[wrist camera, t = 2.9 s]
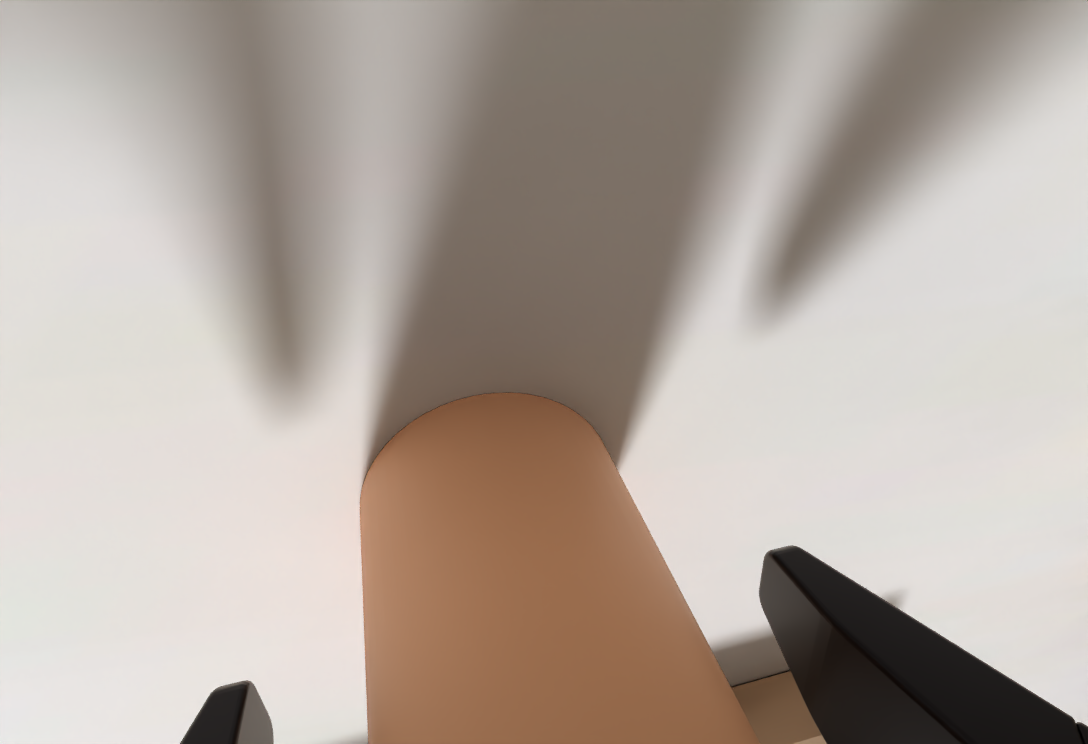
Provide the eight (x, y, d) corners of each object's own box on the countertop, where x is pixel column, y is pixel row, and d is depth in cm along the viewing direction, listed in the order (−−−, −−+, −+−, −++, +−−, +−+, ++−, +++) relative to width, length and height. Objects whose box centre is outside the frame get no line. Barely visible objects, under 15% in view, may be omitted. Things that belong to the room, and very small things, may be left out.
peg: (608, 369, 10) (1080, 1125, 4) (611, 557, 13) (915, 1248, 6) (332, 422, 10) (319, 1459, 3) (386, 613, 12) (446, 1461, 5)
